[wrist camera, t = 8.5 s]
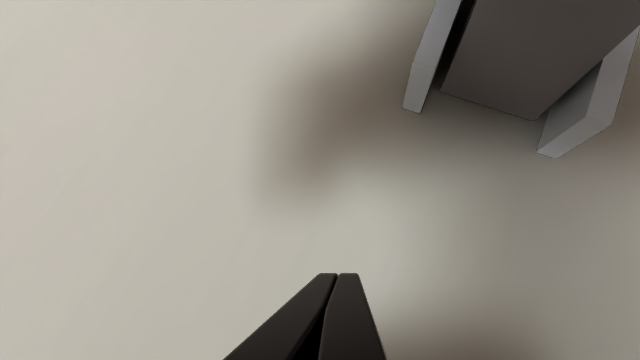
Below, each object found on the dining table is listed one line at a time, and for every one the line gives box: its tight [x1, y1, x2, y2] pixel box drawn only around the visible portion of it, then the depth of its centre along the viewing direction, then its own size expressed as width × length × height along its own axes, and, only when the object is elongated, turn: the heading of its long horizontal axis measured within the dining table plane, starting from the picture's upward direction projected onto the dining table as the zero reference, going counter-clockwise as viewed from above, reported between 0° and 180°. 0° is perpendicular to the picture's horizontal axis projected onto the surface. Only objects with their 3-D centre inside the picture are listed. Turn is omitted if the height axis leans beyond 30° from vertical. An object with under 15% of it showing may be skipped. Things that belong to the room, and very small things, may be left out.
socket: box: [402, 0, 640, 159], centre depth 19 cm, size 9×8×8 cm
